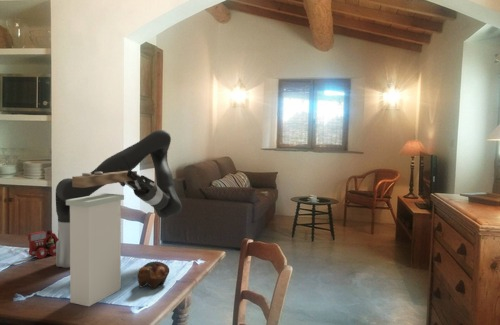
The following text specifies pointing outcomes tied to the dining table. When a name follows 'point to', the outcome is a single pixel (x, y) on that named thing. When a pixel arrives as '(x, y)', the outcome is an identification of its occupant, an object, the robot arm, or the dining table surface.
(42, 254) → the toy fire truck
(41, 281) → the dining table surface
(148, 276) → the decorative turtle
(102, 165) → the robot arm
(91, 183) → the beam
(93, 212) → the pillar
